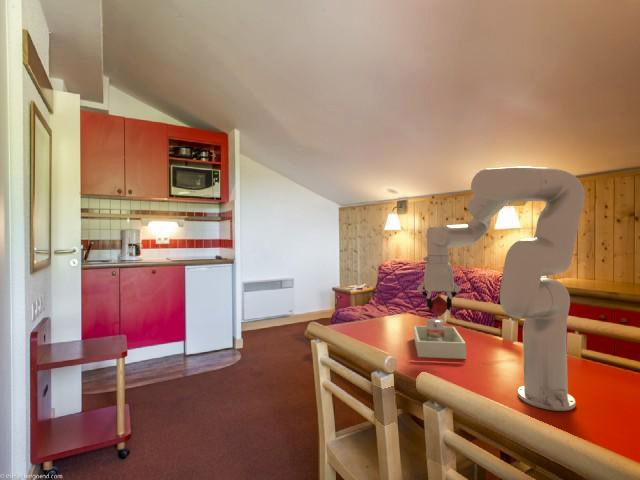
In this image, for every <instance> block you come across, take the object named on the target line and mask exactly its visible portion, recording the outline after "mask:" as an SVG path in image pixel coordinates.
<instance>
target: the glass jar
mask: <svg viewBox="0 0 640 480" xmlns="http://www.w3.org/2000/svg"><path fill="white" fill-rule="evenodd" d="M444 322H445V321H444V320H443V319H440V318H427V319H426V326H427V341H434V342H444V327H445V325H444Z"/></svg>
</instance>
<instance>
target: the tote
mask: <svg viewBox="0 0 640 480" xmlns="http://www.w3.org/2000/svg"><path fill="white" fill-rule="evenodd" d="M413 340H414V344H415V349H416V353H417V357H418V358H432V359H433V358H435V359H436V358H437V359H438V358H439V359H455V360H457V359H461V360H467V345H466V344H467V343H466V342H465V340H464V339H463V337H462V336H461V335H460V332H458V330H457V329H456V327H455V326H444V342H434V341H427V325H413Z"/></svg>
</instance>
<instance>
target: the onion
mask: <svg viewBox="0 0 640 480" xmlns="http://www.w3.org/2000/svg"><path fill="white" fill-rule="evenodd" d="M431 302H432V310H431V311H432V312H433V313H434V314H435V315H437V317H442V316H443V315H444V314H445V313H446V312H447V310H448V309H447V308H448V305H447V300H446V299H444V298H443V297H442V296H441V294H437V296H436V297H435V298H433V300H431Z"/></svg>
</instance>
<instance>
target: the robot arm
mask: <svg viewBox="0 0 640 480" xmlns="http://www.w3.org/2000/svg"><path fill="white" fill-rule="evenodd" d="M470 190H471V192H472V194H473V196H472V197H471V198H470V199H469V200H468V202H467V204H466V206H467V211H468V213H469V214H470V215H471V216H472V219H470V220H469V222H467V223H466V224H448V225H447V224H446V225H441V226H440V225H439V226H429V227H427V229H426V254H427V255H426V256H423V258H422V261H423V262H426V263H425V266H424V274H423V276H424V277H423V278H424V279H423V281H422V282H421V283H420V284H419V285H418V286H417V291H418V292H419V293H420V294H422V295H423V296H424V297H425V298H426V306H427V307H426V308H428V309H429V311H432V297H431V296H432V293H433V292H434V293H436V292H437V293H440V292H441V293H446V295H447V296H446V297H447V298H446V302H447V305H448V308H447V310H448V311H451V308H452V307H453V304H452V303H453V302H452V301H453V298H454V297H455V296H456V295H457V294H458V293H459V292H461V290H462V288H461V287H460V286H459V285H458V284H457V283H456V282H455V278H454V277H455V276H454V270H453V264H452V263H450V253H449V252H450V248H455V247H468V246H472V245H473V244H475V243H476V242H478V241H479V240H480V239H481V238H483V237H484V236H485V235H486V234H487V233H488V231H489V229H490V226H491V222H492V221H491V220H492V218H493V217H494V216H495V215H497V213H499V212H500V211H501V210H502V209H503V208H505V206H507V204H509V203H510V202H517V201H518V202H543V203H545V207H544V208H543V209H542V211H541V212H540V214H539V216H538V218H537V222H536V228H535V233H534V237H531V238H522V239H519V240H517V241H516V242H514V243H513V244H512V245H511V246H510V247H509V249H508V250H507V252H506V254H505V259H504V264H503V270H502V276H501V282H500V289H499V302H500V306H501V308H502V310H503V312H504V313H506V315H508V316H509V317H511V318H514V319H518V320H524V322H523V325H522V326H523V327H522V351H523V354H522V357H523V360H522V361H523V385H521V386H520V387H519V388H518V389H517V397H518V398H520V400H522V401H523V402H524V403H527V404H528V405H530V406H533V407H536V408H540V409H543V410H547V411H555V412H557V411H558V412H567V411H571V410H573V409H574V408H575V407H576V405H577V404H576V399H575V398H574V397H573V396H572V395H571V394H569V392H568V391H569V390H568V389H569V388H568V353H567V352H568V350H567V348H568V347H567V341H568V340H567V338H568V337H567V326H568V325H567V322H568V316H569V312H570V307H571V297H570V292H569V291H568V289H567V287H566V286H565V285H564V284H563V283H562V282H560V281H559V280H556V279H553V278H549V276H555V275H560V274H563V273H565V272H566V271H568V270H569V268H570V266H571V264H572V260H573V255H574V250H575V246H576V245H575V244H576V239H577V235H578V228H579V222H580V220H581V216H582V212H583V209H584V204H585V200H586V195H585V188H584V186H583V184H582V182H581V180H580V179H579V178H578V177H576V176H575V175H574V174H573V173H570V172H568V171H566V170H563V169H558V168H551V167H535V166H511V167H510V166H509V167H494V168H493V167H491V168H490V167H489V168H484V169H482V170H479V171H478V172H476V174H475V175H474V176H473V178H472V180H471V183H470ZM546 276H547V277H546ZM423 288H424V289H425V290H426V291H425V290H424V289H423Z"/></svg>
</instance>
